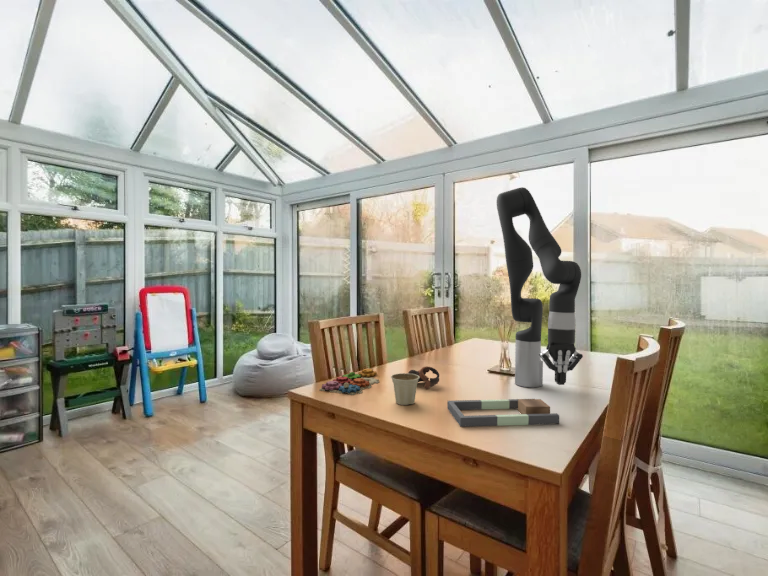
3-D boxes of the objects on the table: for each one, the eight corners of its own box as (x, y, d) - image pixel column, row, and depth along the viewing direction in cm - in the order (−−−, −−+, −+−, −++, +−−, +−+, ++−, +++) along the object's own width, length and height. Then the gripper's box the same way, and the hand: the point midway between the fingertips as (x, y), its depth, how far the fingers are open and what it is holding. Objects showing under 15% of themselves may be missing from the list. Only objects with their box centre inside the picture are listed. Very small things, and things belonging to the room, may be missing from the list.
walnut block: (540, 412, 123) (540, 399, 123) (549, 420, 116) (550, 406, 116) (517, 411, 123) (518, 399, 123) (525, 420, 116) (526, 406, 116)
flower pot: (389, 398, 135) (389, 373, 135) (416, 397, 136) (416, 372, 135) (392, 407, 126) (392, 380, 125) (421, 406, 126) (421, 380, 126)
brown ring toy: (434, 382, 157) (440, 367, 153) (435, 400, 148) (442, 384, 144) (404, 375, 156) (410, 359, 152) (404, 392, 148) (410, 375, 144)
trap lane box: (534, 406, 127) (534, 398, 127) (559, 423, 112) (559, 415, 112) (447, 408, 125) (447, 400, 125) (460, 426, 110) (460, 417, 110)
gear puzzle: (357, 372, 172) (357, 363, 172) (391, 376, 166) (391, 367, 166) (317, 391, 144) (317, 380, 144) (356, 397, 137) (356, 386, 137)
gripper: (576, 325, 123) (574, 381, 124) (534, 325, 123) (533, 381, 123) (590, 328, 116) (588, 387, 116) (545, 328, 115) (544, 387, 115)
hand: (560, 384), depth 120 cm, fingers closed
